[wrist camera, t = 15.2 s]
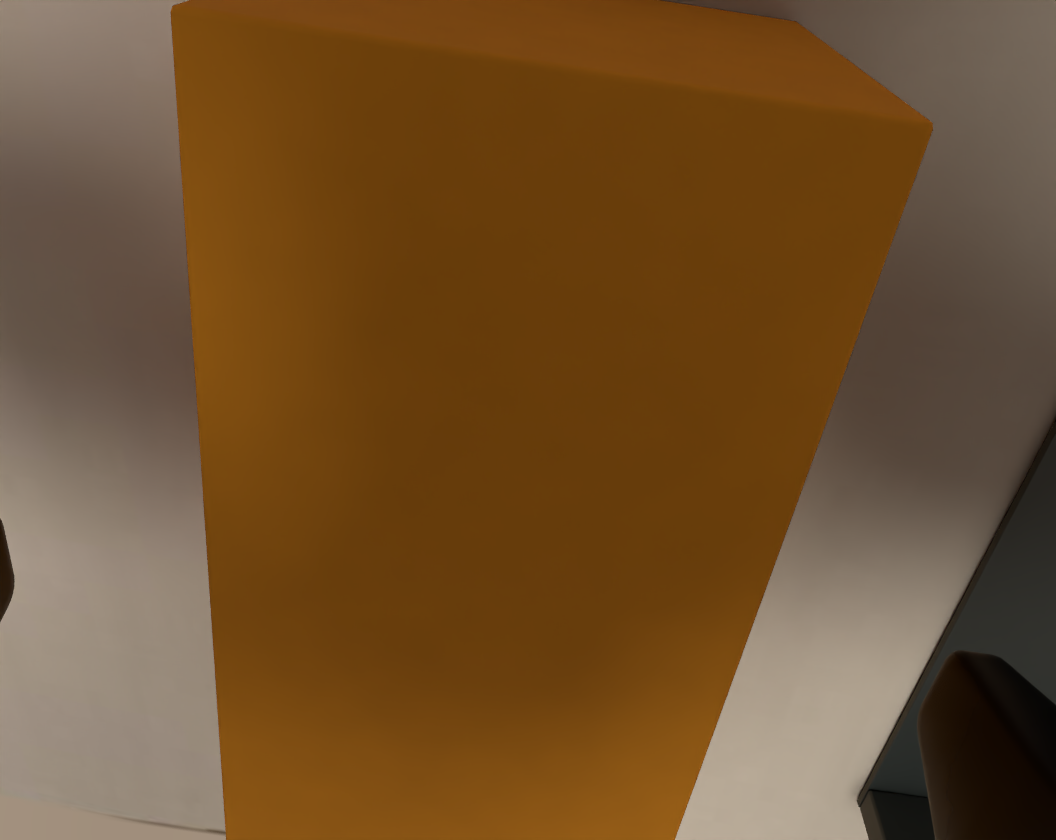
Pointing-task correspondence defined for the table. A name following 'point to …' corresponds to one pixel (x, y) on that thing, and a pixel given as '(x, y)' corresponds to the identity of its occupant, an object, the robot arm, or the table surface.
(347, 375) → the sponge
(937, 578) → the table surface
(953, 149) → the table surface
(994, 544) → the dark teal tray
